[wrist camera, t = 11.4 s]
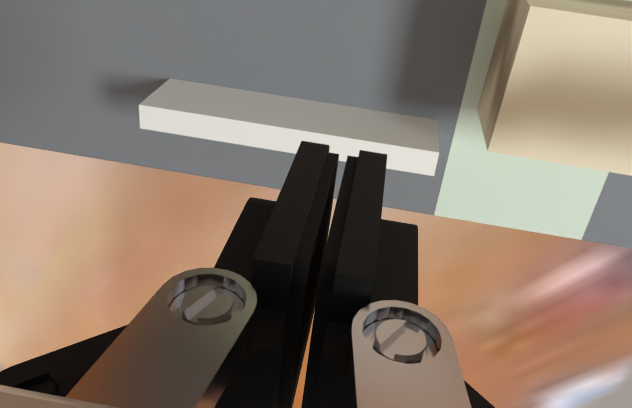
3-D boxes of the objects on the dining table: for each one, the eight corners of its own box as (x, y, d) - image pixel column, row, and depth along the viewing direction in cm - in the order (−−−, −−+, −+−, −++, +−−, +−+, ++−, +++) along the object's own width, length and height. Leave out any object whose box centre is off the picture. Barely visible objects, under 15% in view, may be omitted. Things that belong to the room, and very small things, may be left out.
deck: (-46, -285, 27) (-180, -329, 21) (1012, -168, 23) (1219, -181, 17) (20, 121, 37) (-57, 170, 31) (764, 244, 33) (840, 326, 27)
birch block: (511, -17, 26) (530, 6, 22) (649, 3, 26) (696, 31, 21) (476, 109, 29) (487, 151, 25) (599, 129, 29) (632, 175, 24)
